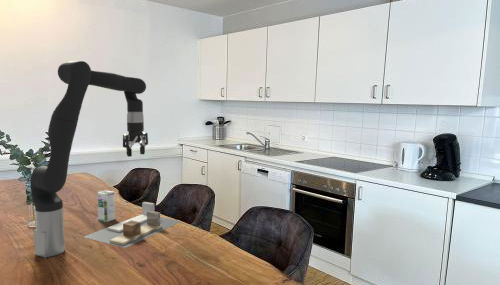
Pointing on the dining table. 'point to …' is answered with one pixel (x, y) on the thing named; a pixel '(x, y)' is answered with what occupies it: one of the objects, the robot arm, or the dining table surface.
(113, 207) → the syrup box
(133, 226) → the walnut block
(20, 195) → the dining table surface
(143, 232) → the birch strip
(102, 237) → the lane board
